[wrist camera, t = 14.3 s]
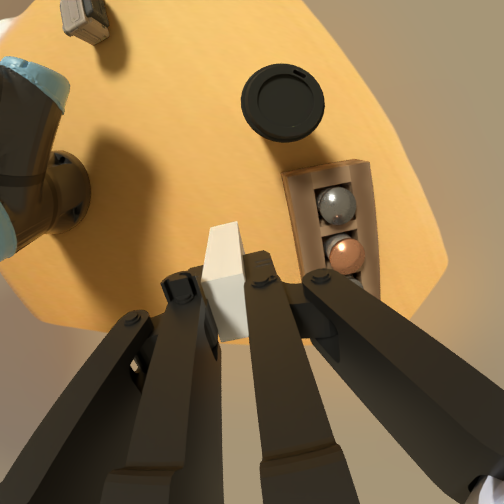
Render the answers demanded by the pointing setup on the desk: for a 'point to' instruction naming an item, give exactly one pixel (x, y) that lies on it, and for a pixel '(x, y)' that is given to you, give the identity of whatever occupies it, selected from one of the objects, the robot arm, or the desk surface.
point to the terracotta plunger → (343, 252)
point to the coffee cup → (282, 103)
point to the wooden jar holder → (315, 227)
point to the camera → (85, 20)
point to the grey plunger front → (335, 204)
